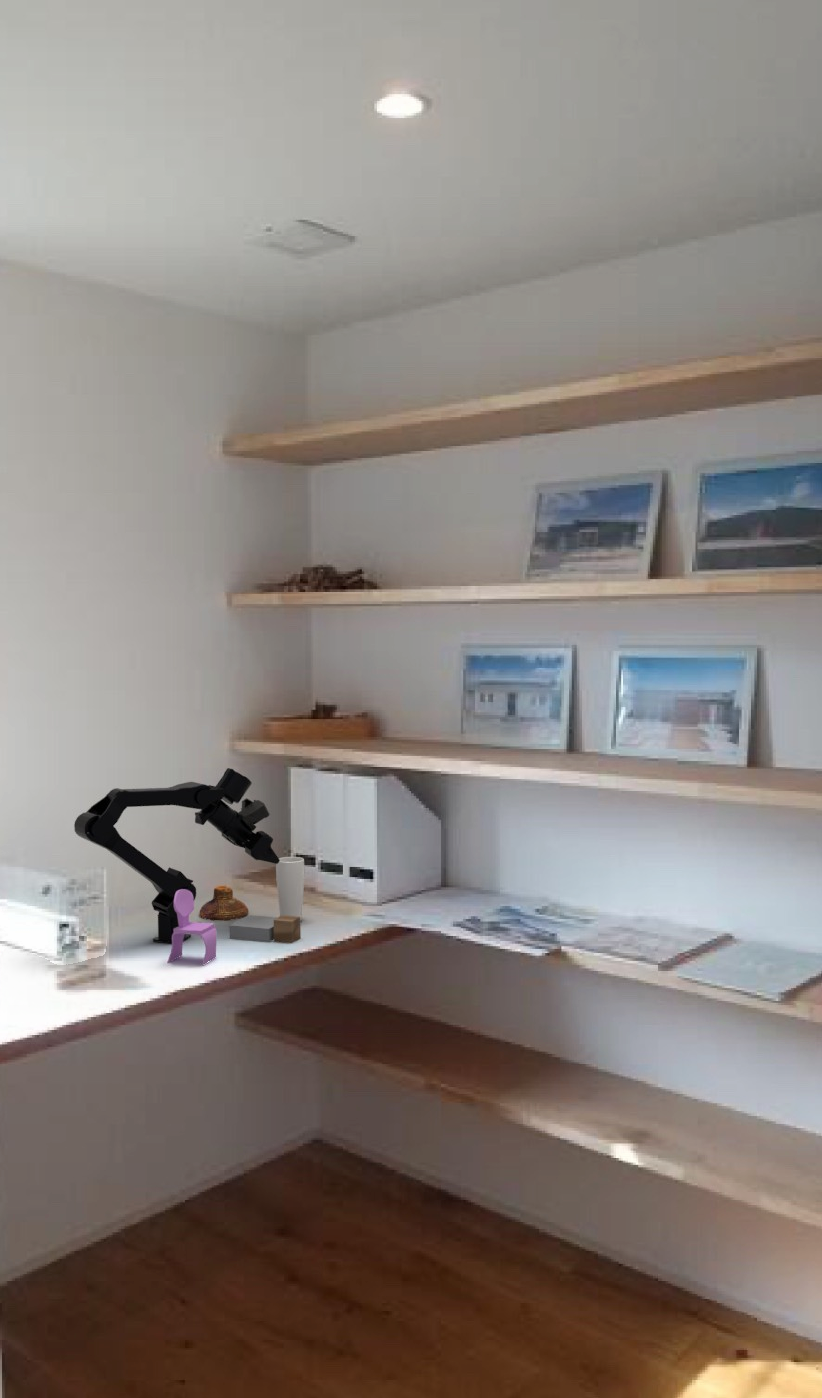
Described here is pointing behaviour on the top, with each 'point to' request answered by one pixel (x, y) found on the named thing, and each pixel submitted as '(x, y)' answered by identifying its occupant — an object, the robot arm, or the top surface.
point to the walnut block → (287, 929)
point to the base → (253, 928)
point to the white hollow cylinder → (290, 885)
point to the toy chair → (191, 927)
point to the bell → (223, 906)
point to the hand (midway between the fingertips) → (270, 856)
